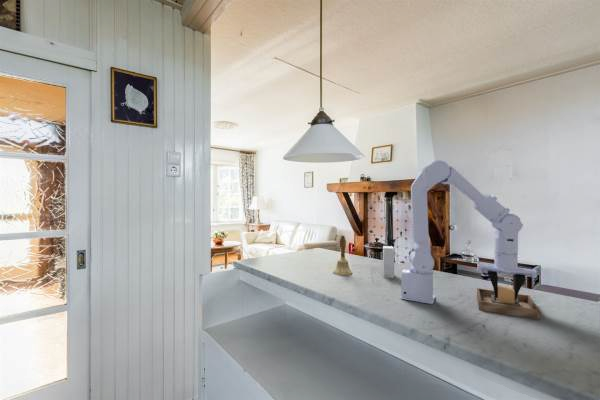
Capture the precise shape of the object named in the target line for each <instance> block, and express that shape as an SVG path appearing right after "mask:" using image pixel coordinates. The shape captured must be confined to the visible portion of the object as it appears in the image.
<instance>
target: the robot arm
mask: <svg viewBox="0 0 600 400" xmlns="http://www.w3.org/2000/svg"><path fill="white" fill-rule="evenodd" d="M438 183H441V184H443V185H451V186H453V187H454V188H456V190H458V191H459V192H461V194H464V196H466V197H467V198H468V199H469V200H471V201H472V202H473V208H474V210H476V211H477V212H478V213H479V214H480V215H482V216H483V217H484V218H485V219H487V221H489V222H491V226H492V228H493V229H495V230H494V263H493V264H483V263H477V264H476V265H477V267H476V270H477V272H484V273H485V272H486V273H487V276H488V278H489V280H490V282H491V284H492V288H493V290H494V296H495V297H497V298H498V288H497V286H498V283H499V276H498V274H504V275H510V276H511V275H512V285H513V286H512V287H513V289H514V291H515V299H514V300H516V299H517V295H518V294H519V292H520V290H521V288H522V286H523V285H524V283H525V282H526V280H527V279H526V278H527V277H529V278H530V277H531V278H533V279H537V278H538V277H537V276H538V274H537V273H538V271H537V270H536V269H530V268H525V267H524V268H523V267H519V266H518V264H519V263H518V262H519V261H518V259H519V257H518V255H519V232H520V231H521V230H522V229H523V227H524V223H522V221H521V218H520V217H519V215H516V214H515V213H510V211H511V209H510V208H509V207H505V206H504V205H502V204H501V203H500V202H499V201H498V197H496V195H490V194H483V193H482V192H480V191H479V190H478V189H477V188H476V187H475V186H474V185H473V184H472V183H470V181H468V180H467V178H465V177H464V176H463V175H462V174H461V173H460V172H459V171H457V170H456V169H455V167H453V166H450V165H449V164H448V163H447V162H446V161H444V160H440V159H439V160H435V161H432V162H431V163H430V164H428V165H426V166H425V167H423V168H422V169H421V170H420V171H419V173H418V175H417V176H416V178H415V180H414V181H413V182H412V183H411V185H410V200H411V202H410V203H411V223H412V224H411V226H412V228H411V229H412V232H411V233H412V242H411V250H410V252H409V257H408V259H409V261H410V262H411V265H410V266H409V267H408V268H407V269H405V268H404V269H402V271H401V279H400V280H401V282H400V285H401V286H400V299H401V300H406V301H407V300H408V301H413V302H418V303H422V304H423V303H424V304H429V305H433V304H434V303H435V298H436V296H435V294H434V267H435V259H434V258H433V256H432V253H431V252H432V251H431V246H430V239H429V238H430V235H429V211H428V209H429V208H428V192H429V191H430V190H431V189H432V188H433V187H434V186H436V184H438Z"/></svg>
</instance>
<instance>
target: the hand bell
mask: <svg viewBox="0 0 600 400" xmlns="http://www.w3.org/2000/svg"><path fill="white" fill-rule="evenodd" d="M339 247H340V258H339V259H337V263H336V267H335V268H334V269H333V271H332V273H333V274H335V275H338V276H351V275H352V274H353V271H352V269H350V267H349V260H348V259H346V255H345V253H346V252H345V251H346V247H347V241H346V236H345V235H341V236H340V239H339Z"/></svg>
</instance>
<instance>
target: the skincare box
mask: <svg viewBox="0 0 600 400" xmlns="http://www.w3.org/2000/svg"><path fill="white" fill-rule="evenodd" d="M381 270H382V277H383V278H387V279H395V248H394V246H392V245H391V246H388V245H383V246H382V269H381Z"/></svg>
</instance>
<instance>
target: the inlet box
mask: <svg viewBox="0 0 600 400" xmlns="http://www.w3.org/2000/svg"><path fill="white" fill-rule="evenodd" d="M496 298H497V297H495V296H494V289H493V290H492V289H485V288H480V287H477V288H476V299H477V307H478V310H479V311H480V310H481V311H486V312H491V313H496V314H503V315H509V316H515V317H520V318H526V319H533V320H538V321H541V310H540V308H539V307H538V306H537V304H536V303H535V301H534V300H533V298H532V297H531V295H529V294H528V295H527V294H524V293H523V294H521V293H518V295H517V299H516V300H514V304H512V303H505V302H499V301H497V300H496Z"/></svg>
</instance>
